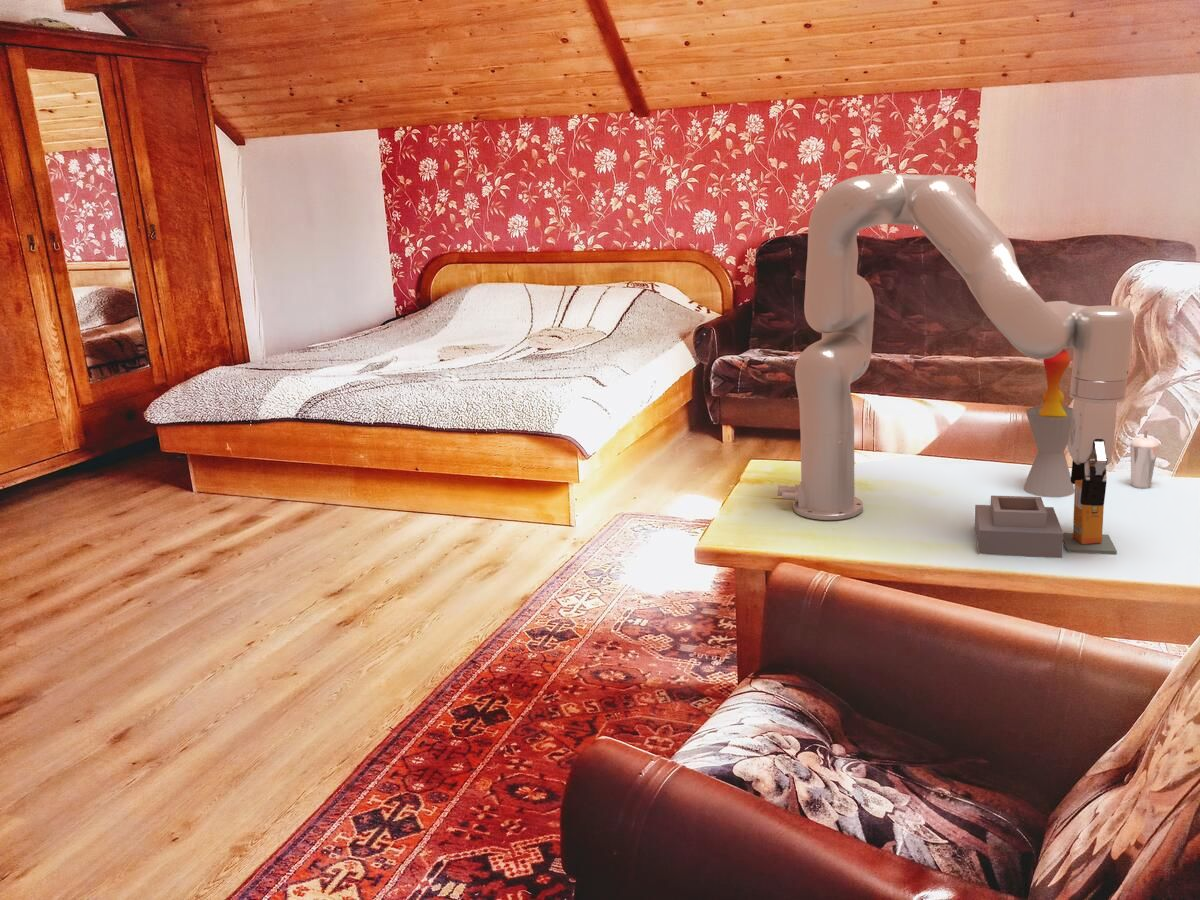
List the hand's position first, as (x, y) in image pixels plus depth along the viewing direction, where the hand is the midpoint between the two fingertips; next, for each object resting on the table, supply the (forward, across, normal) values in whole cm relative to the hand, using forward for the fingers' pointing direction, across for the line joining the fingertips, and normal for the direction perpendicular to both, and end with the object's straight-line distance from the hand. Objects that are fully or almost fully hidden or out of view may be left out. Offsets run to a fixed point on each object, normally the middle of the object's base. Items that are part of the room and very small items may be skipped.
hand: (1086, 493), depth 146 cm
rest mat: (+8, 0, +1) cm, 9 cm away
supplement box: (+8, 0, +1) cm, 8 cm away
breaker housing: (+9, 0, -10) cm, 13 cm away
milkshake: (+9, -31, +14) cm, 35 cm away
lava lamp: (+9, -27, -2) cm, 28 cm away
